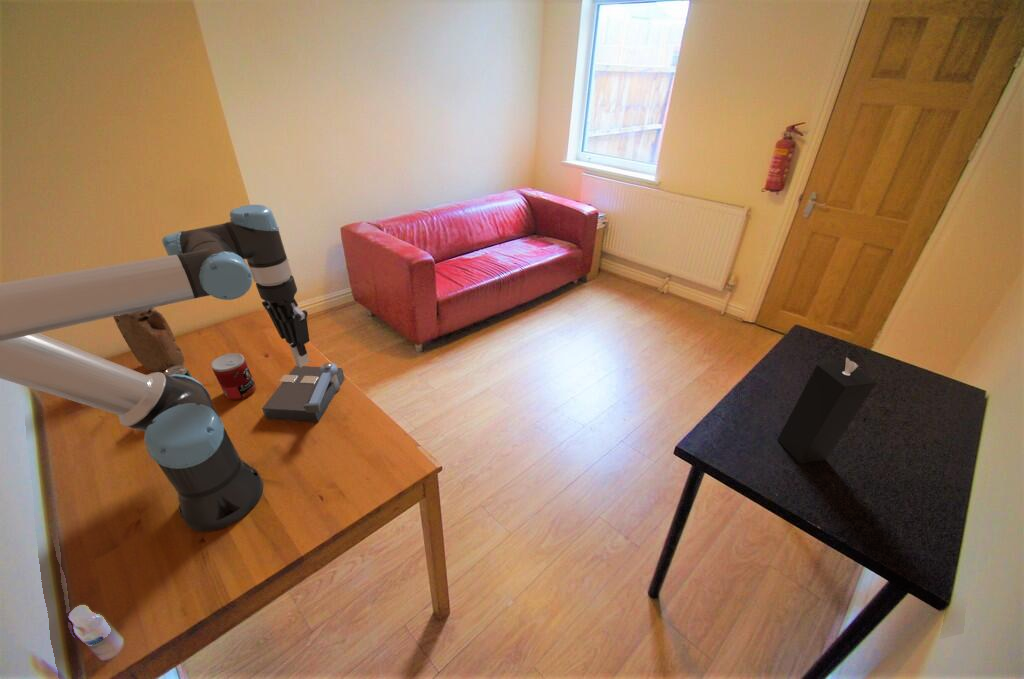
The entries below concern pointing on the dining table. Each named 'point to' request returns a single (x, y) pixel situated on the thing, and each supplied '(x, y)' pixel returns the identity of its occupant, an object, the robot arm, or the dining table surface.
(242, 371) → the canned food
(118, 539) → the dining table surface
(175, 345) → the brown rough lump
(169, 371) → the soda can
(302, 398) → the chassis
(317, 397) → the swing bar
